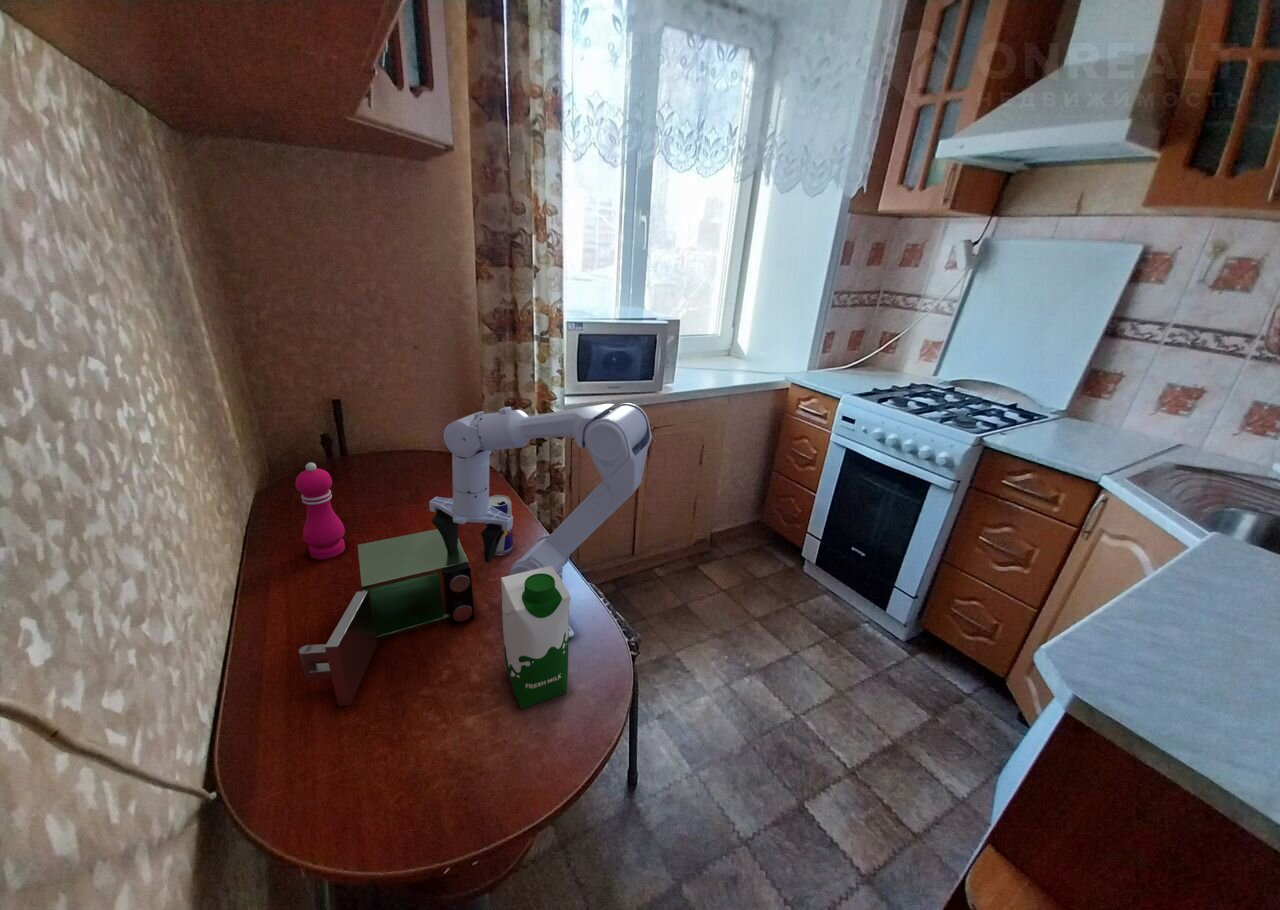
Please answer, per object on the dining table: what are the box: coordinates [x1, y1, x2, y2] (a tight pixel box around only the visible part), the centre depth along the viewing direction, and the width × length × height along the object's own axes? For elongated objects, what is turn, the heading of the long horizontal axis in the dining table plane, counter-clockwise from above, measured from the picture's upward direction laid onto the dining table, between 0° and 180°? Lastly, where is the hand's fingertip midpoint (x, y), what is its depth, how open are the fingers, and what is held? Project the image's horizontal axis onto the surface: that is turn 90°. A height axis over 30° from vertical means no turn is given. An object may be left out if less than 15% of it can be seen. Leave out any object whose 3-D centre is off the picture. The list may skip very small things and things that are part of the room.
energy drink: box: [485, 494, 514, 557], centre depth 105 cm, size 5×5×12 cm
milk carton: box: [500, 566, 571, 711], centre depth 71 cm, size 9×9×20 cm
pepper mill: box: [295, 462, 346, 560], centre depth 99 cm, size 7×7×20 cm
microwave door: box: [298, 590, 378, 707], centre depth 72 cm, size 6×12×11 cm, turn 9°
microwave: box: [357, 528, 475, 641], centre depth 87 cm, size 15×16×11 cm
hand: (470, 554), depth 87 cm, fingers open, 7 cm apart
